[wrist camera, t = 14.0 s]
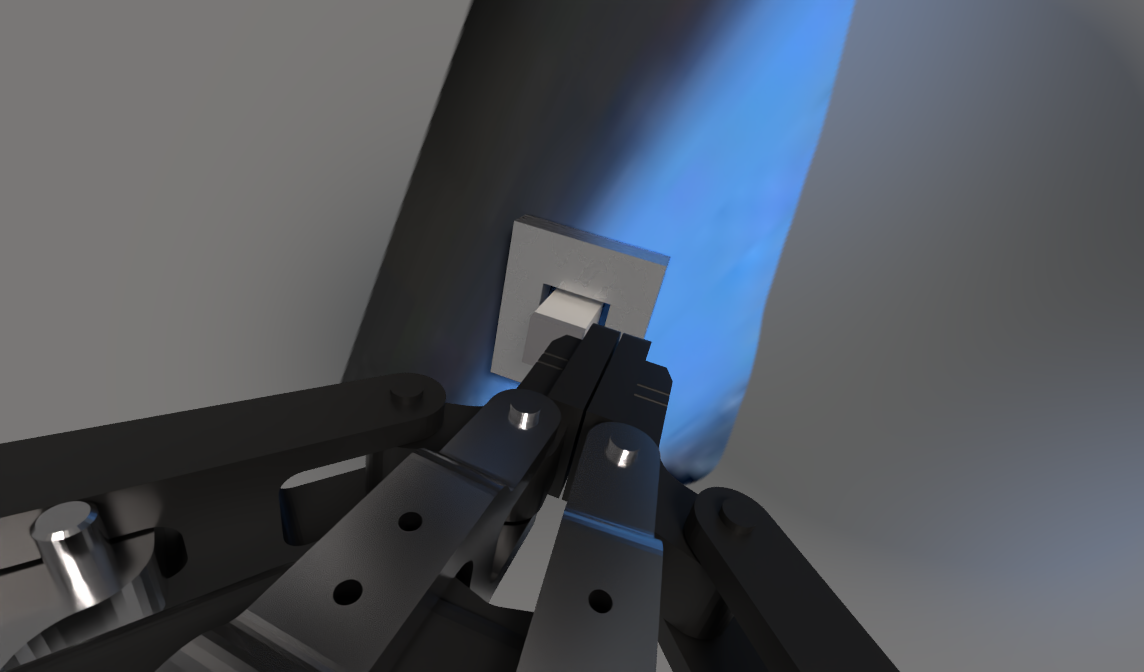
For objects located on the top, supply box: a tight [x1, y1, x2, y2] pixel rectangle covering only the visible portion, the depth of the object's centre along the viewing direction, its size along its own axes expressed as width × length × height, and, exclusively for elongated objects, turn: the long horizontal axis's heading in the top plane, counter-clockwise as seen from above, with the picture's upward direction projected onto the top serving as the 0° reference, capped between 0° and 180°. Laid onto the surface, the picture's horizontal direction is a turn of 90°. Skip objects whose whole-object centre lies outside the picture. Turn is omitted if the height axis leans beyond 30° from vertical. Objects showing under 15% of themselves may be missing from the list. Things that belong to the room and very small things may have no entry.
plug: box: [522, 288, 604, 366], centre depth 39 cm, size 4×4×7 cm
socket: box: [491, 214, 670, 382], centre depth 41 cm, size 14×12×3 cm
